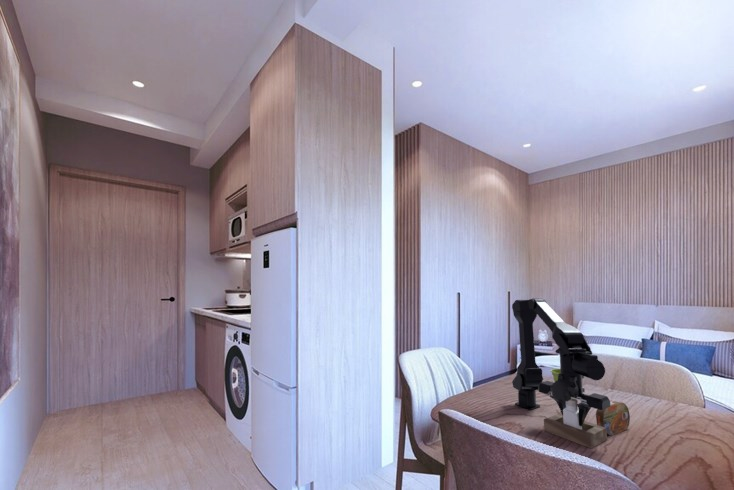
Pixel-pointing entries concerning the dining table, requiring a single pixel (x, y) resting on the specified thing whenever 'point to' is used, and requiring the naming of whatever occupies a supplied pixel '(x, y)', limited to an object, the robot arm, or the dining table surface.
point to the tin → (614, 418)
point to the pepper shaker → (571, 413)
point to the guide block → (576, 431)
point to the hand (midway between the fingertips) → (573, 423)
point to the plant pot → (555, 373)
